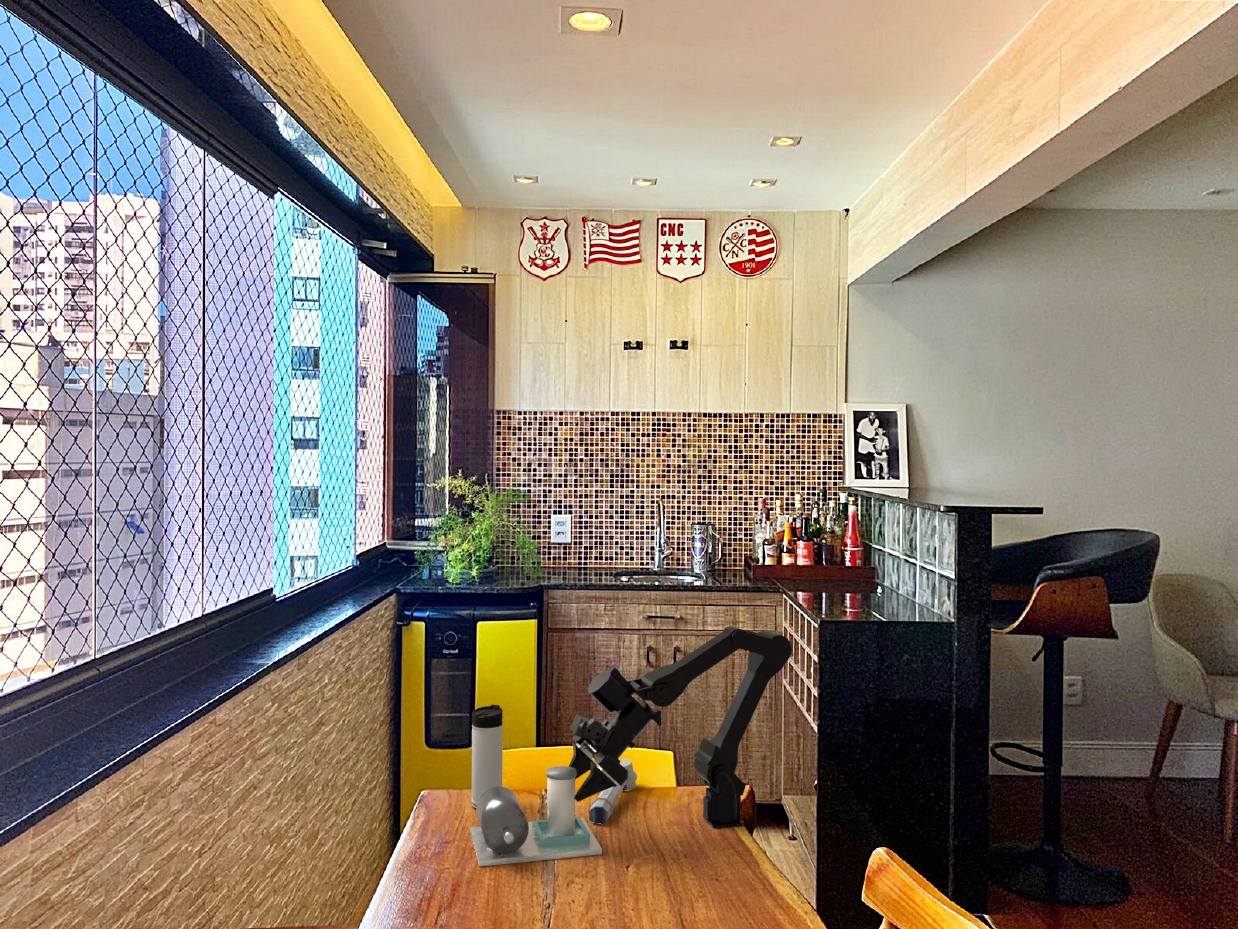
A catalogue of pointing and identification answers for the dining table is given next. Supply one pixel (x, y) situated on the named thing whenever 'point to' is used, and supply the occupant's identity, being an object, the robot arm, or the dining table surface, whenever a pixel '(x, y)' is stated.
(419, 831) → the dining table surface
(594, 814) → the light grey long piece
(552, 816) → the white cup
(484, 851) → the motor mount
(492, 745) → the travel mug
